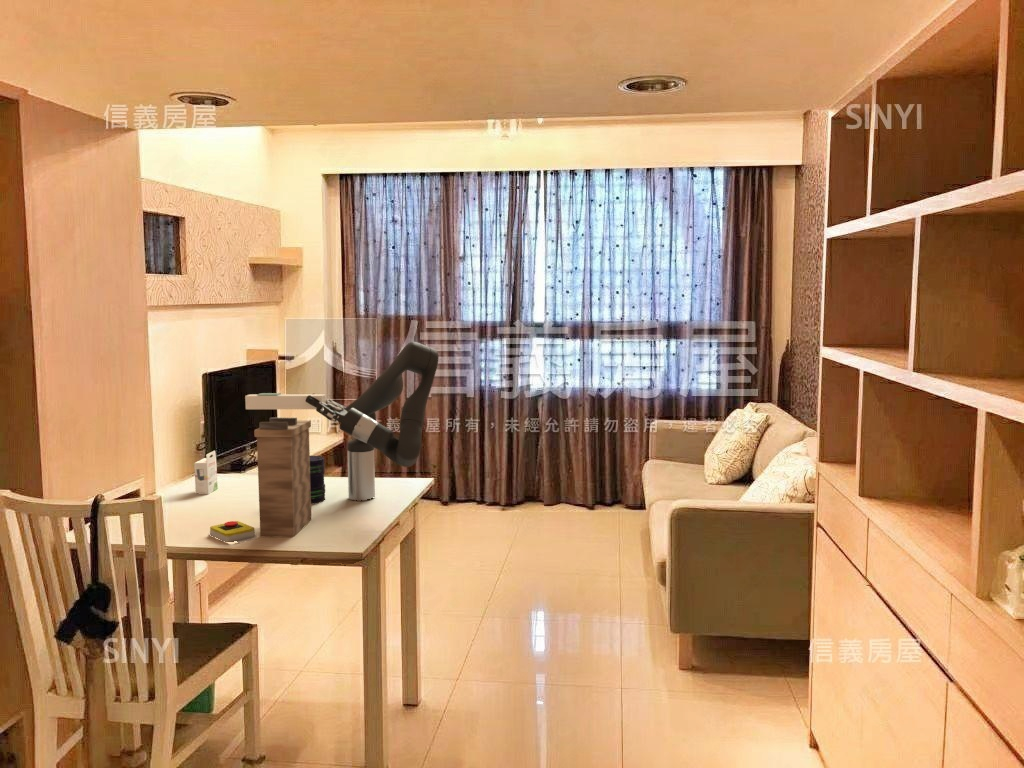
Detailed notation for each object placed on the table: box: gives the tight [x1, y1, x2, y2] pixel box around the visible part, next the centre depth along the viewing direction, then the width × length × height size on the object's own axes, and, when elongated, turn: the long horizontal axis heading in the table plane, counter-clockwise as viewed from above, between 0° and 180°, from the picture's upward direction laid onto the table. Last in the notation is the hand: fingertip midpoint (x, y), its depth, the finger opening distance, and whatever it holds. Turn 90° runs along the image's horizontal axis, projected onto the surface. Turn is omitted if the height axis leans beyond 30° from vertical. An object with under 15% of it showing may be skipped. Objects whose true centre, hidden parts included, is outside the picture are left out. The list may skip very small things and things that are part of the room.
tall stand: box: [253, 417, 312, 537], centre depth 240 cm, size 19×11×34 cm, turn 178°
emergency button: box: [209, 520, 260, 544], centre depth 234 cm, size 9×4×15 cm
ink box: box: [193, 450, 219, 495], centre depth 288 cm, size 9×5×15 cm, turn 178°
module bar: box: [244, 392, 327, 410], centre depth 235 cm, size 4×23×4 cm, turn 88°
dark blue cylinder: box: [310, 455, 326, 505], centre depth 275 cm, size 10×10×15 cm
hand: (309, 397), depth 235 cm, fingers closed on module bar, 4 cm apart
